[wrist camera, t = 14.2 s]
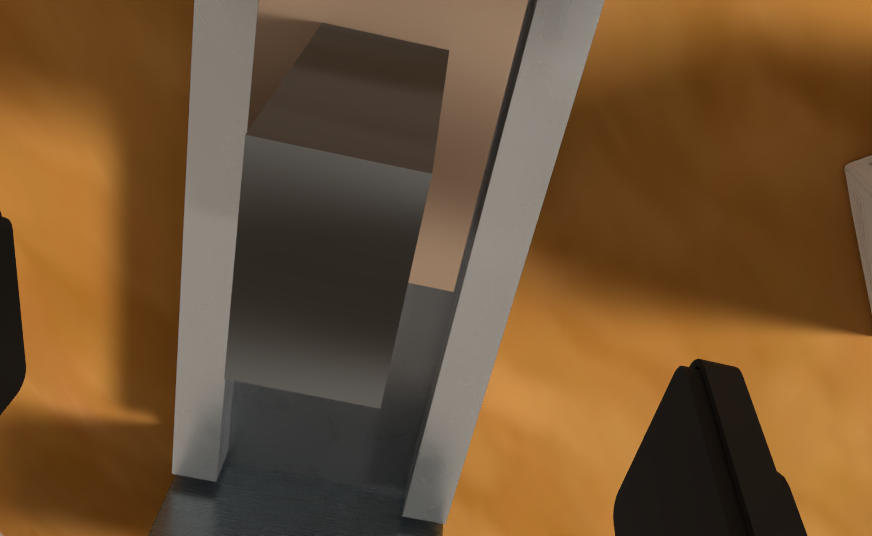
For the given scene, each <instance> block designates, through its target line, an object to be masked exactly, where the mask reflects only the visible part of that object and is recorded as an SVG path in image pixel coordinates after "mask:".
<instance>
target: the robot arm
mask: <svg viewBox="0 0 872 536" xmlns="http://www.w3.org/2000/svg"><path fill="white" fill-rule="evenodd" d="M25 373H26V362H25V352H24V342H23V331H22V321H21V311H20V300H19V290H18V280H17V269H16V259H15V249H14V238H13V229H12V224H11V222H10V220H9V219H7V218H5V217H2V216H1V212H0V415H1V414H2V412H3V411H4V410H5V409H6V407H7V406H8V405H9V404H10V402H11V401H12V400H13V399H14V397H15V396H16V395H17V393H18V392H19V390H20V388H21V386H22V384H23V381H24V378H25ZM613 519H614V529H615V536H807V533H806V531H805V528H804V525H803V522H802V520H801V517H800V514H799V511H798V509H797V506H796V503H795V501H794V498H793V495H792V492H791V490H790V487H789V485H788V483H787V481H786V479H785V477H784V476H782V475H781V474H780V473H779V472H777V471H776V468H775V465H774V462H773V460H772V457H771V454H770V451H769V448H768V445H767V443H766V440H765V437H764V434H763V431H762V429H761V426H760V423H759V420H758V417H757V414H756V412H755V409H754V406H753V403H752V400H751V398H750V395H749V392H748V389H747V386H746V384H745V381H744V378H743V375H742V373H741V371H740V369H738V368H737V367H734V366H729V365H725V364H720V363H715V362H711V361H706V360H702V359H696V360H694V361H693V362H692V363H691V365H690V366H689V367H685V366H679V367H678V368H677V370H676V371H675V373H674V375H673V377H672V379H671V381H670V383H669V385H668V388H667V390H666V392H665V394H664V396H663V398H662V400H661V402H660V405H659V407H658V409H657V411H656V413H655V415H654V417H653V419H652V421H651V424H650V426H649V428H648V430H647V432H646V434H645V436H644V438H643V441H642V443H641V445H640V447H639V449H638V451H637V453H636V455H635V458H634V460H633V462H632V464H631V466H630V468H629V470H628V472H627V474H626V477H625V479H624V481H623V483H622V485H621V487H620V489H619V491H618V494H617V496H616V500H615V504H614V513H613Z"/></svg>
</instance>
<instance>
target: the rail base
mask: <svg viewBox="0 0 872 536" xmlns="http://www.w3.org/2000/svg"><path fill="white" fill-rule="evenodd" d="M604 1H605V0H528V4H527V8H526V11H525V15H524V19H523V23H522V27H521V31H520V35H519V39H518V43H517V47H516V50H515V54H514V58H513V62H512V66H511V70H510V74H509V78H508V82H507V85H506V89H505V93H504V97H503V101H502V105H501V109H500V113H499V117H498V121H497V124H496V128H495V132H494V136H493V140H492V144H491V148H490V152H489V156H488V160H487V163H486V167H485V171H484V175H483V179H482V183H481V187H480V191H479V195H478V199H477V202H476V206H475V210H474V214H473V218H472V222H471V226H470V230H469V234H468V237H467V241H466V245H465V249H464V253H463V257H462V261H461V265H460V269H459V273H458V276H457V280H456V284H455V288H454V292H452V291H447V290H442V289H437V288H432V287H427V286H422V285H417V284H412V283H408V286H407V291H406V295H405V300H404V304H403V309H402V313H401V318H400V322H399V327H398V331H397V336H396V340H395V345H394V350H393V354H392V359H391V363H390V368H389V372H388V377H387V381H386V386H385V390H384V395H383V399H382V404H381V409H379V408H374V407H369V406H363V405H358V404H353V403H348V402H343V401H337V400H332V399H327V398H322V397H316V396H311V395H306V394H301V393H296V392H290V391H285V390H280V389H275V388H270V387H264V386H259V385H254V384H249V383H244V382H238V381H233V380H228V379H224V374H225V363H226V351H227V340H228V328H229V316H230V305H231V293H232V282H233V270H234V259H235V247H236V236H237V224H238V213H239V201H240V190H241V178H242V166H243V155H244V143H245V134H246V133H247V129H248V118H249V106H250V95H251V84H252V72H253V61H254V49H255V38H256V27H257V15H258V4H259V0H194V17H193V38H192V59H191V80H190V101H189V123H188V144H187V165H186V186H185V207H184V228H183V249H182V270H181V291H180V312H179V333H178V354H177V375H176V396H175V417H174V438H173V459H172V474H175V477H174V479H173V481H172V483H171V485H170V488H169V490H168V492H167V494H166V496H165V499H164V501H163V503H162V505H161V508H160V510H159V512H158V514H157V516H156V519H155V521H154V523H153V525H152V528H151V530H150V532H149V534H148V536H442V532H443V524H445V523H446V520H447V517H448V513H449V510H450V507H451V504H452V500H453V497H454V494H455V490H456V487H457V484H458V481H459V477H460V474H461V471H462V467H463V464H464V461H465V458H466V454H467V451H468V448H469V444H470V441H471V438H472V435H473V431H474V428H475V425H476V421H477V418H478V415H479V412H480V408H481V405H482V402H483V398H484V395H485V392H486V389H487V385H488V382H489V379H490V375H491V372H492V369H493V366H494V362H495V359H496V356H497V352H498V349H499V346H500V343H501V339H502V336H503V333H504V329H505V326H506V323H507V320H508V316H509V313H510V310H511V306H512V303H513V300H514V297H515V293H516V290H517V287H518V283H519V280H520V277H521V274H522V270H523V267H524V264H525V260H526V257H527V254H528V251H529V247H530V244H531V241H532V237H533V234H534V231H535V228H536V224H537V221H538V218H539V214H540V211H541V208H542V205H543V201H544V198H545V195H546V191H547V188H548V185H549V182H550V178H551V175H552V172H553V168H554V165H555V162H556V159H557V155H558V152H559V149H560V145H561V142H562V139H563V136H564V132H565V129H566V126H567V122H568V119H569V116H570V113H571V109H572V106H573V103H574V99H575V96H576V93H577V90H578V86H579V83H580V80H581V76H582V73H583V70H584V67H585V63H586V60H587V57H588V53H589V50H590V47H591V44H592V40H593V37H594V34H595V30H596V27H597V24H598V21H599V17H600V14H601V11H602V7H603V4H604Z"/></svg>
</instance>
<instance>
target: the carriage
mask: <svg viewBox="0 0 872 536" xmlns="http://www.w3.org/2000/svg"><path fill="white" fill-rule="evenodd" d="M527 4H528V0H259V4H258V15H257V27H256V38H255V49H254V61H253V72H252V84H251V95H250V106H249V118H248V129H247V133H246V134H245V143H244V155H243V166H242V178H241V190H240V201H239V213H238V224H237V236H236V247H235V259H234V270H233V282H232V293H231V305H230V316H229V328H228V340H227V351H226V363H225V374H224V379H228V380H233V381H238V382H244V383H249V384H254V385H259V386H264V387H270V388H275V389H280V390H285V391H290V392H296V393H301V394H306V395H311V396H316V397H322V398H327V399H332V400H337V401H343V402H348V403H353V404H358V405H363V406H369V407H374V408H379V409H381V404H382V399H383V395H384V390H385V386H386V381H387V377H388V372H389V368H390V363H391V359H392V354H393V350H394V345H395V340H396V336H397V331H398V327H399V322H400V318H401V313H402V309H403V304H404V300H405V295H406V291H407V286H408V283H412V284H417V285H422V286H427V287H432V288H437V289H442V290H447V291H452V292H454V288H455V284H456V280H457V276H458V273H459V269H460V265H461V261H462V257H463V253H464V249H465V245H466V241H467V237H468V234H469V230H470V226H471V222H472V218H473V214H474V210H475V206H476V202H477V199H478V195H479V191H480V187H481V183H482V179H483V175H484V171H485V167H486V163H487V160H488V156H489V152H490V148H491V144H492V140H493V136H494V132H495V128H496V124H497V121H498V117H499V113H500V109H501V105H502V101H503V97H504V93H505V89H506V85H507V82H508V78H509V74H510V70H511V66H512V62H513V58H514V54H515V50H516V47H517V43H518V39H519V35H520V31H521V27H522V23H523V19H524V15H525V11H526V8H527Z"/></svg>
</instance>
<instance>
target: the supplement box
mask: <svg viewBox="0 0 872 536" xmlns="http://www.w3.org/2000/svg"><path fill="white" fill-rule="evenodd" d="M845 175H846V180H847V186H848V193H849V199H850V205H851V210H852V215H853V221H854V226H855V231H856V236H857V241H858V246H859V251H860V257H861V262H862V267H863V272H864V277H865V282H866V287H867V292H868V297H869V302H870V307H871V313H872V155H870V156H867V157H864V158H862V159H859V160H856V161H853V162H850V163H849V164H847V165H846V166H845Z"/></svg>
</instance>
